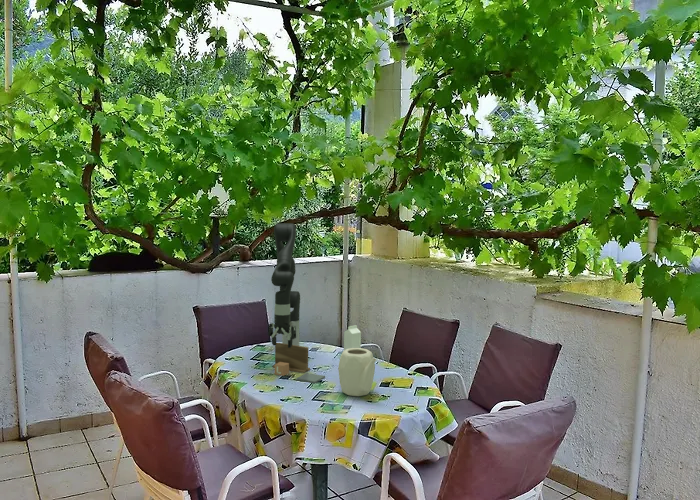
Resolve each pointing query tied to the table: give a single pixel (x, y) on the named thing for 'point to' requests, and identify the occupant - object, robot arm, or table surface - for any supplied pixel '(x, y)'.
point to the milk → (352, 337)
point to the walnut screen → (292, 357)
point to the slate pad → (310, 378)
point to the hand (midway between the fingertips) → (281, 346)
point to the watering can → (356, 371)
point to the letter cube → (281, 368)
